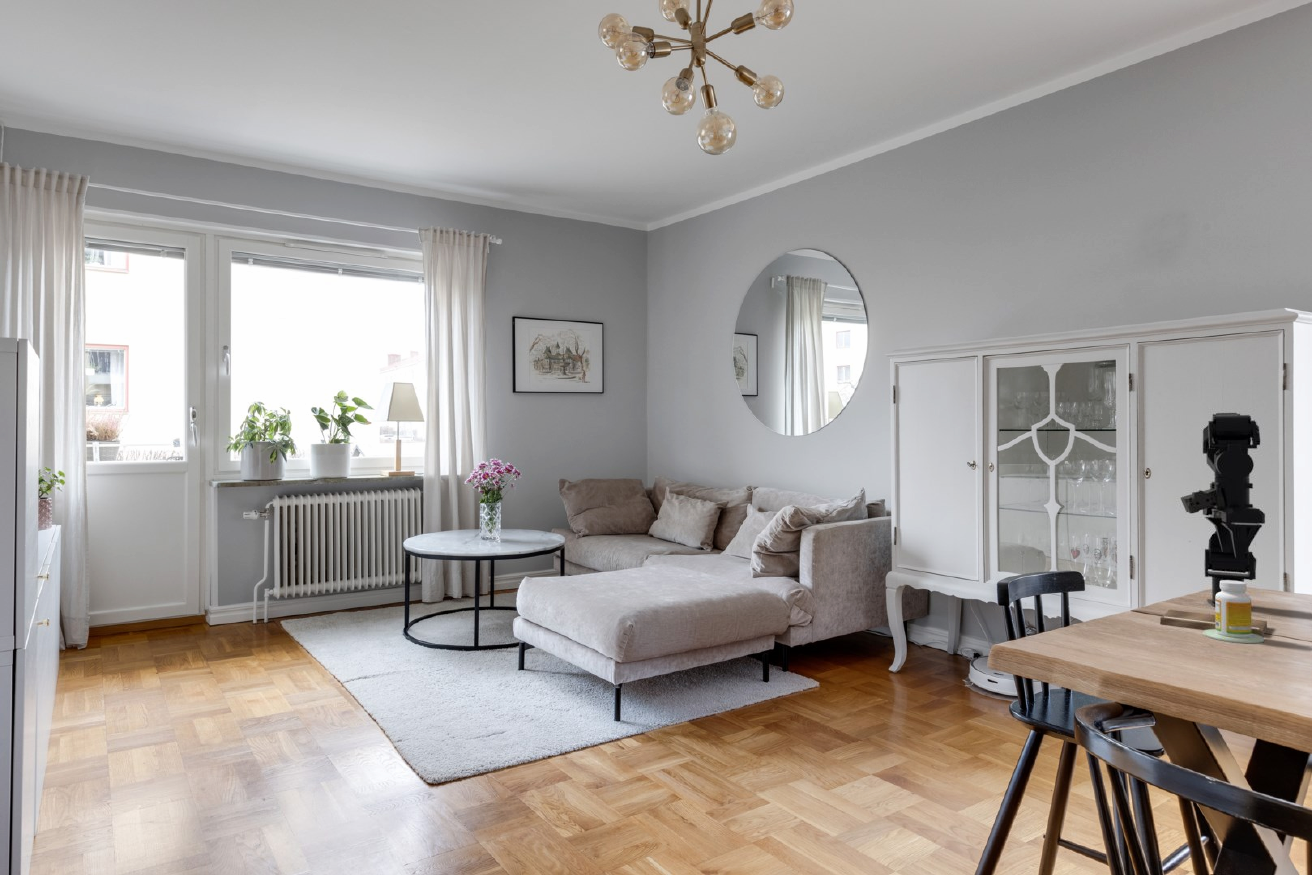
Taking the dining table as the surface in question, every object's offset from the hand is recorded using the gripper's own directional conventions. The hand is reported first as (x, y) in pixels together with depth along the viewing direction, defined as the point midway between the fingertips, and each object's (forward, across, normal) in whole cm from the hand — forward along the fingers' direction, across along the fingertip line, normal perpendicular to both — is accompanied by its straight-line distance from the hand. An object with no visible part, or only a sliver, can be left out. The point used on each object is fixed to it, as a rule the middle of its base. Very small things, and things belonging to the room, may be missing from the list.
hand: (1232, 555), depth 160 cm
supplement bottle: (+13, +16, -4) cm, 21 cm away
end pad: (+13, +16, -4) cm, 21 cm away
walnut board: (+13, +7, -5) cm, 16 cm away
